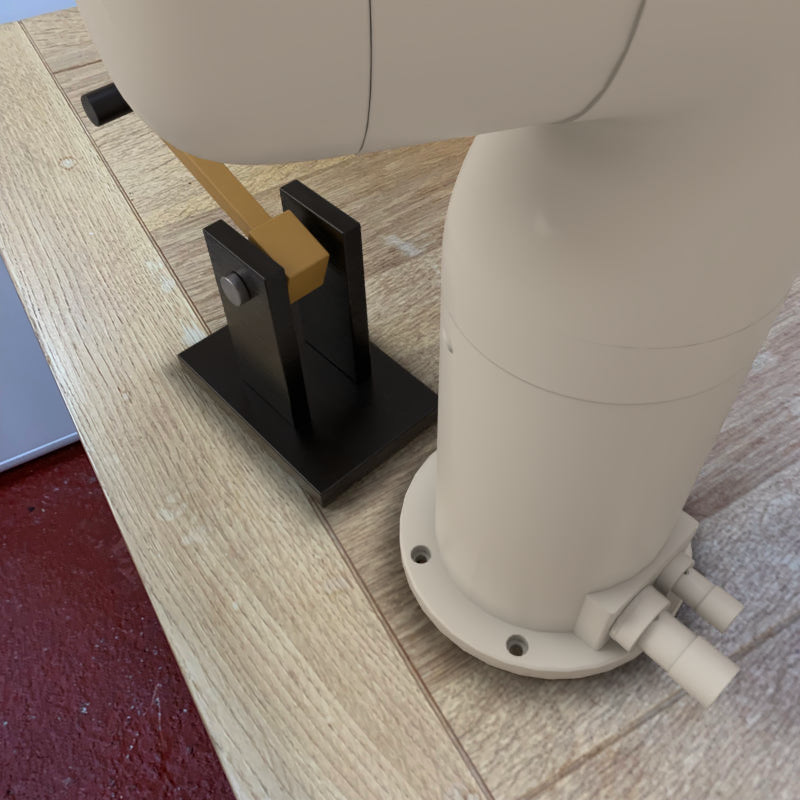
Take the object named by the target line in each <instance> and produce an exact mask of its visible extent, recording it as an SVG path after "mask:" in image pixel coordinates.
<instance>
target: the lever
mask: <svg viewBox="0 0 800 800" xmlns="http://www.w3.org/2000/svg"><path fill="white" fill-rule="evenodd" d="M80 103H81V106H82V109H83V111H84V113H85V115H86V116H87V118H88V120H89V121H90V122H91V123H92V124H93V125H94V126H95V127H97V128H100V127H102V126H104V125H106V124H108V123H111V122H113V121H116V120H117V119H120V118H123V117H126V116H127V115H129V114H132V113H135V112H134V111H133V110H132V108H131V107H130V106H129V105H128V103H127V102H126V101H125V99H124V98H123V97H122V95H121V93H120V92H119V90H118V89H117V87H116V85H115V84H114V82H113V81H112V82H110V83H107V84H105V85H103V86H100V87H98V88H96V89H93V90H90V91H89V92H86V93H84V94H82V95H81V96H80ZM159 139H160V140H161V141H162V142H163V143H164V144H165V145H166V147H167V148H168V149H169V150H170V151H171V152H172V153H173V155H174V156H175V157H176V158H177V159H178V161H179V162H180V163H181V164H182V165H183V166H184V167H185V168H186V169H187V171H188V172H189V173H190V174H191V175H192V177H194V179H195V180H196V181H197V182H198V183H199V184H200V185H201V186H202V187H203V189H204V191H206V192H207V193H208V195H209V196H210V197H211V198H212V199H213V200H214V201H215V202H216V204H217V205H218V206H219V207H220V208H221V209H222V210H223V212H224V213H225V214H226V215H227V216H228V217H229V219H230V220H231V221H232V222H233V223H234V224H235V225H236V227H238V229H239V231H241V232H242V233H243V235H244V236H245V238H246V239H248V240H249V241H250V242H251V243H253V244H254V245H255V246H256V247H258V248H259V249H260V250H262V251H263V252H264V253H265V254H267V255H268V256H269V257H270V258H272V259H273V260H274V261H276V262H277V263H278V264H279V265H281V266H282V267H283V268H284V270H285V275H286V281H287V287H288V292H289V298H290V304H292V303H294V302H295V301H297V300H298V299H300V298H302V297H303V296H305V295H307V294H308V293H310V292H311V291H313V290H315V289H316V288H318V287H320V286H321V285H323V282H324V278H325V273H326V269H327V264H328V260H329V253H328V252H327V251H326V250H325V248H324V247H323V246H322V245H321V244H320V243H319V242H318V241H317V240H316V238H315V237H314V236H313V235H312V234H311V233H310V232H309V231H308V230H307V228H306V227H305V226H304V225H303V224H302V223H301V222H300V221H299V220H298V218H297V217H296V216H295V215H294V214H293V213H292V212H291V211H290V210H287V211H285V212H283V211H282V212H281V213H280V214H278V215H276V216H274V217H272V216H271V215H270V214H269V213H268V211H267V210H266V209H265V208H264V207H263V206H262V204H260V203H259V202H258V201H257V199H256V198H255V197H254V196H253V195H252V194H251V193H250V192H249V190H248V189H247V188H246V187H245V186H244V185H243V184H242V183H241V181H240V180H239V179H238V178H237V177H236V176H235V175H234V173H232V171H231V170H230V169H229V168H228V167H227V166H226V165H225V163H219V162H214V161H210V160H205V159H201V158H198V157H195V156H193V155H191V154H188V153H186V152H183V151H181V150H179V149H177V148H175V147H174V146H172V145H171V144H169V143H168V142H166V141H165V140H163V139H162V138H161V137H159Z"/></svg>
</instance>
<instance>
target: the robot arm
mask: <svg viewBox="0 0 800 800" xmlns="http://www.w3.org/2000/svg"><path fill="white" fill-rule="evenodd" d="M74 1H75V4H76V7H77V9H78V12H79V14H80V17H81V19H82V22H83V24H84V27H85V29H86V31H87V33H88V35H89V37H90V39H91V41H92V43H93V46H94V47H95V49H96V51H97V53H98V56H99V57H100V60H101V62H102V63H103V65H104V67H105V70H106V71H107V74H108V77H109V78H110V79H111V81H112V82H114V84H115V85H116V87H117V89H118V90H119V92H120V93H121V95H122V97H123V98H124V99H125V101H126V102H127V103H128V105H129V106H130V107H131V108H132V110H133V111H134V112H133V113H134V114H135V115H136V117H138V118H139V119H140V120H141V122H143V123H144V124H145V125H146V126H147V127H148V128H149V129H150V130H151V131H152V132H153V133H154V134H155V135H156V136H158V138H160V137H161V138H162V139H163V140H165V141H166V142H168V143H169V144H171V145H172V146H174V147H175V148H177V149H179V150H181V151H183V152H186V153H188V154H191V155H193V156H195V157H198V158H201V159H205V160H210V161H214V162H219V163H223V164H224V165H225V164H226V165H237V166H273V165H275V166H276V165H283V164H284V165H285V164H295V163H305V162H314V161H321V160H327V159H333V158H340V157H341V158H342V157H346V156H347V157H348V156H360V155H366V154H371V153H378V152H385V151H390V150H395V149H396V150H397V149H401V148H407V147H414V146H421V145H426V144H431V143H437V142H445V141H450V140H456V139H462V138H468V137H473V136H475V137H474V139H473V141H472V142H471V145H470V147H469V149H468V151H467V152H466V156H465V157H464V159H463V162H462V165H461V166H460V169H459V172H458V175H457V177H456V180H455V183H454V186H453V189H452V191H451V194H450V198H449V202H448V207H447V211H446V215H445V220H444V225H443V233H442V240H441V242H442V243H441V260H440V261H441V262H440V263H441V265H440V310H439V311H440V313H439V314H440V315H439V322H440V323H439V351H438V352H439V353H438V354H439V355H438V356H439V357H438V390H437V391H438V392H437V393H438V394H437V395H438V421H437V434H436V435H437V436H436V438H437V439H436V450H435V451H433V452H432V453H431V454H430V455H428V457H427V458H426V459H425V461H424V462H423V463H422V465H421V466H420V467H419V468H418V470H417V471H416V472H415V474H414V475H413V478H412V479H411V480H412V481H411V482H410V484H409V486H408V488H407V491H406V492H405V494H404V499H403V503H402V508H401V512H400V516H399V547H400V559H401V565H402V567H403V570H404V574H405V577H406V581H407V583H408V587H409V588H410V590H411V592H412V594H413V596H414V598H415V599H416V601H417V603H418V605H419V606H420V609H421V610H422V612H423V613H424V614H425V615H426V616H427V618H428V619H429V620H430V621H431V622H432V623H433V625H434V626H435V628H437V629H438V630H439V632H440V633H441V634H443V635H444V636H445V637H446V638H447V639H449V640H450V641H451V642H452V643H453V644H454V645H456V646H457V647H458V648H459V649H460V650H462V651H463V652H466V653H467V654H469V655H471V656H473V657H474V658H476V659H478V660H480V661H482V662H483V663H485V664H487V665H489V666H491V667H494V668H497V669H500V670H503V671H506V672H509V673H512V674H515V675H518V676H523V677H529V678H530V677H532V678H537V679H543V680H544V679H545V680H564V679H565V680H568V679H570V680H571V679H582V678H586V677H590V676H594V675H599V674H602V673H606V672H610V671H611V670H614V669H616V668H618V667H621V666H622V665H625V664H626V663H629V662H631V661H633V660H634V659H636V658H637V657H639V656H640V655H641V654H642V653H644V654H645V655H647V657H649V658H650V659H651V660H653V661H654V662H655V663H656V664H657V665H658V666H659V667H661V669H663V670H664V671H665V672H666V673H667V674H666V676H668V677H669V678H670V679H671V680H673V681H674V682H675V683H676V684H677V685H678V686H680V687H681V688H682V689H683V690H684V691H685V692H686V693H688V694H689V695H690V696H691V697H692V698H693V699H694V700H696V701H697V702H698V703H699V704H700V705H702V706H703V707H704V708H705V709H706V710H709V708H710V707H711V706H712V705H713V704H714V703H715V701H716V700H717V699H718V698H719V696H720V695H721V694H722V693H723V692H724V690H725V689H726V688H727V687H728V685H730V683H731V682H732V681H733V679H734V678H735V677H736V676H737V674H738V673H740V671H741V669H742V667H740V666H739V665H738V664H737V663H736V662H734V661H733V660H732V659H731V658H729V657H728V656H727V655H726V654H724V653H723V652H722V651H721V650H720V649H718V648H717V647H715V645H713V644H712V643H711V642H710V641H708V640H707V639H706V638H705V637H704V636H702V635H701V634H699V635H697V634H696V633H694V632H693V631H692V630H691V629H690V628H689V627H687V626H686V625H685V624H684V623H683V622H681V620H679V619H677V618H676V617H675V616H676V614H677V612H678V611H679V609H680V607H681V606H682V604H683V602H684V604H685V605H687V606H689V607H690V608H691V609H692V610H694V613H695V614H696V615H697V616H698V617H700V619H702V620H703V621H704V622H705V623H706V624H708V625H710V626H711V627H712V628H713V629H715V630H716V631H717V632H718V633H720V635H724V634H725V633H726V632H727V630H728V629H729V628H730V627H731V626H732V624H733V623H734V622H735V621H736V619H737V618H738V617H739V616H740V615H741V613H742V612H743V611H744V609H746V606H745V605H744V604H742V602H740V601H739V600H738V599H736V598H735V597H734V596H733V595H731V594H730V593H729V592H727V591H726V590H725V589H723V588H722V587H721V586H720V585H718V584H714V583H713V582H712V581H710V580H709V579H708V578H707V577H705V576H704V575H702V574H701V573H700V572H699V571H697V570H696V569H695V568H694V566H695V565H696V560H694V559H693V550H692V549H693V548H692V540H693V538H694V536H695V534H696V532H697V530H698V528H699V527H700V522H699V521H698V520H697V519H695V518H694V517H693V516H692V515H691V514H689V513H687V512H686V511H685V510H683V509H684V506H685V504H686V503H687V501H688V498H689V496H690V494H691V492H692V490H693V489H694V486H695V484H696V482H697V480H698V478H699V475H700V473H701V471H702V469H703V467H704V466H705V463H706V461H707V459H708V457H709V455H710V453H711V451H712V449H713V447H714V445H715V443H716V441H717V439H718V437H719V435H720V432H721V431H722V428H723V426H724V424H725V422H726V420H727V418H728V416H729V413H730V412H731V410H732V408H733V405H734V403H735V402H736V399H737V397H738V395H739V393H740V391H741V389H742V387H743V385H744V383H745V381H746V379H747V377H748V375H749V373H750V370H751V368H752V366H753V364H754V362H755V360H756V358H757V356H758V354H759V352H760V350H761V348H762V347H763V346H764V344H765V342H766V340H767V338H768V336H769V333H770V332H771V329H772V327H773V325H774V323H775V321H776V319H777V317H778V315H779V313H780V311H781V309H782V307H783V305H784V303H785V301H786V299H787V297H788V295H789V293H790V291H791V289H792V288H793V285H794V283H795V282H796V279H797V277H798V275H799V274H800V0H74ZM161 138H160V139H161ZM419 561H424V563H418V562H419ZM513 649H515V650H518V651H520V653H521V655H515V654H513V653H511V650H513Z"/></svg>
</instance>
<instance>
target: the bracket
mask: <svg viewBox="0 0 800 800" xmlns="http://www.w3.org/2000/svg"><path fill="white" fill-rule="evenodd" d="M278 190H279V196H280V203H281V209H282V213H283V212H285V211H287V210H290V211H291V212H292V213H293V214H294V215H295V216H296V217H297V218H298V220H299V221H300V222H301V223H302V224H303V225H304V226H305V227H306V228H307V230H308V231H309V232H310V233H311V234H312V235H313V236H314V237H315V238H316V240H317V241H318V242H319V243H320V244H321V245H322V246H323V247H324V248H325V250H326V251H327V252H328V253H329V260H328V264H327V269H326V273H325V278H324V282H323V285H321V286H320V287H318V288H316V289H315V290H313V291H311V292H310V293H308V294H307V295H305V296H303V297H302V298H300V299H298V300H297V301H295V302H294V303H292V304H290V298H289V292H288V287H287V281H286V275H285V270H284V268H283V267H282V266H281V265H279V264H278V263H277V262H276V261H274V260H273V259H272V258H270V257H269V256H268V255H267V254H265V253H264V252H263V251H262V250H260V249H259V248H258V247H256V246H255V245H254V244H253V243H251V242H250V241H249V240H248V238H247V237H246V236H245V235H243V234H241V233H240V232H239V231H238V230H236V229H235V228H234V227H232V226H231V225H230V224H229V223H228V222H226V221H225V220H223V219H222V218H219V219H217V220H216V221H214V222H211V223H210V224H208V225H206V226H204V227H203V228H202V233H203V238H204V241H205V244H206V249H207V252H208V256H209V259H210V264H211V267H212V271H213V275H214V279H215V281H216V286H217V290H218V293H219V297H220V301H221V304H222V309H223V310H224V311H223V312H224V315H225V319H226V324H225V325H224V326H222V327H221V328H219V329H217V330H215V331H214V332H213V333H211V334H209V335H207V336H205V337H204V338H202V339H200V340H199V341H198V342H196V343H194V344H192V345H191V346H189V347H187V348H185V349H184V350H182V351H181V352H179V353H178V354H177V355H176V356H177V359H178V363H179V365H180V368H181V370H182V371H183V372H184V373H185V375H187V377H189V378H190V379H191V380H192V381H193V382H194V383H195V384H196V385H197V386H198V387H199V388H200V389H201V390H202V391H203V392H204V393H205V394H206V395H207V396H208V397H209V398H211V400H212V401H214V403H215V404H216V405H217V406H218V407H219V408H221V410H223V412H225V414H226V415H228V416H229V417H230V418H231V419H232V420H233V421H234V422H235V423H236V424H237V425H238V426H239V427H240V428H241V429H242V430H243V432H245V433H246V434H247V435H248V436H249V437H250V438H251V439H252V440H253V441H254V443H256V444H257V445H258V446H259V447H260V448H261V449H262V450H263V451H264V452H265V453H266V454H267V455H268V456H269V457H270V458H271V459H272V460H273V461H274V462H275V463H276V464H277V465H278V466H279V467H280V468H281V469H282V470H283V471H284V472H286V474H288V475H289V476H290V478H292V479H293V480H294V482H296V483H297V484H298V486H300V487H301V488H302V489H303V490H304V491H305V492H306V494H308V495H309V496H310V497H311V498H312V499H313V500H314V502H316V503H317V504H318V505H319V506H320V508H322V509H325V508H327V507H328V506H329V505H330V504H331V503H333V502H334V501H336V500H337V499H338V498H339V497H341V496H342V495H343V494H344V493H346V492H347V491H349V490H350V489H351V488H352V487H354V486H355V485H356V484H358V483H359V482H360V481H362V480H364V479H365V478H366V477H367V476H368V475H369V474H371V473H372V472H374V471H375V470H376V469H377V468H379V467H380V466H381V465H382V464H383V463H385V462H386V461H388V460H389V459H390V458H391V457H393V456H394V455H396V454H397V453H398V452H399V451H401V450H402V449H403V448H404V447H406V446H407V445H408V444H410V443H411V442H412V441H414V440H415V439H416V438H417V437H419V436H420V435H421V434H423V433H424V432H425V431H426V430H428V429H430V428H431V427H432V426H433V425H434V424H435V423H438V394H437V393H436V392H435V391H434V390H433V389H431V388H430V386H427V385H426V384H425V383H424V382H422V381H421V380H420V379H419V378H418V377H416V376H415V375H414V374H413V373H411V372H410V371H409V370H407V369H406V368H405V367H403V366H402V365H401V364H400V363H398V361H396V360H395V359H393V358H392V357H391V356H390V355H388V354H387V353H386V352H385V351H384V350H382V349H381V348H380V347H378V346H377V345H375V344H374V343H373V342H372V341H371V340H370V332H369V331H370V330H369V320H368V319H369V317H368V307H367V306H368V305H367V303H368V302H367V292H366V291H367V289H366V279H365V276H366V275H365V263H364V250H363V239H362V225H361V223H360V222H359V221H358V220H356V219H355V218H353V217H352V216H351V215H349V214H348V213H346V212H345V211H343V210H342V209H340V208H339V207H338V206H336V205H335V204H333V202H331V201H329V200H328V199H326V198H324V197H323V196H321V194H319V193H318V192H316V191H314V190H313V189H311V188H310V187H309V186H307V185H305V184H304V183H303V182H302V181H300V180H299V179H296V178H295V179H293V180H291V181H289V182H287V183H285V184H283V185H282V186H280V187H279V188H278Z"/></svg>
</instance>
